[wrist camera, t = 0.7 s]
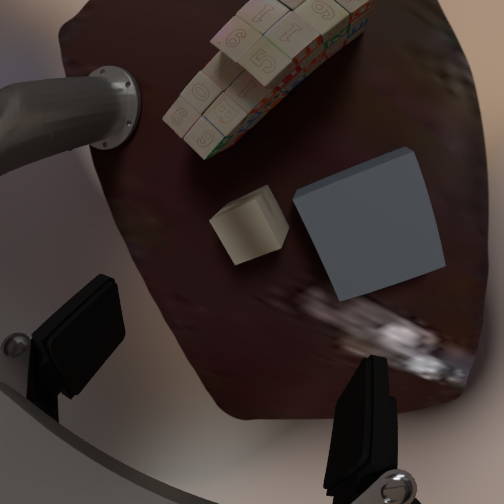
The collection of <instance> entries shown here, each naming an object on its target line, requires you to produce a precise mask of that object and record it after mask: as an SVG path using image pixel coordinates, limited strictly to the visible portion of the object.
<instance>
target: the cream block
mask: <svg viewBox="0 0 504 504" xmlns="http://www.w3.org/2000/svg"><path fill="white" fill-rule="evenodd" d="M209 221H210V223H211V225H212V226H213V228H214V230H215V231H216V233H217V235H218V237H219V238H220V240H221V242H222V243H223V245H224V247H225V249H226V250H227V252H228V254H229V255H230V257H231V259H232V261H233V262H234V264H235V265H237V264H240V263H242V262H245V261H248V260H251V259H253V258H256V257H259V256H262V255H264V254H267V253H270V252H272V251H275V250H278V249H281V248H282V245H283V243H284V240H285V237H286V235H287V232H288V229H289V226H288V224H287V222H286V220H285V218H284V216H283V214H282V212H281V210H280V208H279V206H278V204H277V202H276V200H275V198H274V196H273V194H272V192H271V190H270V188H269V187H268V185H266V186H264V187H261V188H259V189H257V190H255V191H253V192H251V193H248V194H246V195H244V196H242V197H240V198H238V199H236V200H234V201H231V202H229V203H227V204H226V205H225V206H224V207H223V208H222V209H221V210H220V211H219V212H218V213H217V214H215V215H214V216H213V217H212V218H211V219H210V220H209Z"/></svg>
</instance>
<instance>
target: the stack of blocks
mask: <svg viewBox="0 0 504 504" xmlns="http://www.w3.org/2000/svg"><path fill="white" fill-rule="evenodd" d="M374 3H375V0H249V1H248V2H247V3H246V4H245V5H244V6H243V7H242V8H241V9H240V10H239V11H238V12H237V13H236V16H234V17H233V18H231V19H230V21H229V22H228V23H227V24H226V25H225V26H224V27H223V28H222V29H221V30H220V31H219V32H218V33H217V34H216V35H215V36H214V37H213V39H212V40H211V41H210V43H212V44H213V45H214V46H216V47H217V48H218V49H219V50H220V51H219V52H218V53H217V54H216V55H215V56H214V57H213V58H212V59H211V61H210V62H209V63H208V64H207V65H206V66H205V67H204V68H203V69H202V71H200V72H199V73H198V74H197V75H196V76H195V77H194V78H193V79H192V81H191V82H190V83H189V84H188V85H187V86H186V88H185V89H184V90H183V91H182V93H181V94H180V97H179V98H178V99H177V100H176V101H175V103H174V104H173V105H172V106H171V108H170V109H169V110H168V112H167V113H166V114H165V115H164V117H163V118H162V119H163V120H164V121H165V122H166V123H167V124H168V125H169V126H170V127H171V128H172V129H173V130H174V131H175V132H176V133H177V134H178V135H179V136H180V137H181V138H183V139H184V140H185V141H186V142H187V143H188V144H189V145H190V146H191V147H192V148H193V149H194V150H195V151H196V152H197V153H198V154H199V155H200V156H201V157H202V158H203V159H204V160H205V159H208V158H210V157H212V156H214V155H216V154H217V153H218V152H221V151H223V150H225V149H226V148H229V147H231V146H233V145H234V144H235V143H236V142H237V141H238V140H239V139H240V138H241V137H242V136H243V135H244V134H245V133H246V132H247V131H248V130H249V129H251V128H252V127H253V126H254V125H255V124H256V123H257V122H258V121H259V120H260V119H262V118H263V117H264V116H265V115H266V114H267V113H268V112H269V111H270V110H271V109H272V108H273V107H274V106H275V105H277V104H278V103H279V102H280V101H281V100H282V99H283V98H284V97H285V96H286V95H287V94H288V93H289V92H290V91H291V90H292V89H293V88H294V87H295V86H297V85H298V84H299V83H300V82H301V81H302V80H303V79H305V78H306V76H308V75H309V74H310V73H311V72H312V71H314V70H315V69H316V68H317V67H318V66H320V65H321V64H322V63H323V62H324V61H326V60H328V59H329V58H330V57H331V56H333V55H334V54H335V53H336V52H338V51H339V50H340V49H341V48H343V47H344V46H345V45H347V44H348V43H349V42H351V41H352V40H353V39H355V38H356V37H357V36H359V35H360V34H361V33H363V32H364V30H365V27H366V23H367V21H368V18H369V16H370V15H371V13H372V10H373V7H374Z"/></svg>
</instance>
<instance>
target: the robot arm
mask: <svg viewBox="0 0 504 504" xmlns="http://www.w3.org/2000/svg"><path fill="white" fill-rule="evenodd" d="M140 112H141V96H140V91H139V87H138V85H137V83H136V80H135V79H134V77H133V76H132V75H131V74H130V73H129V72H128V71H127V70H125V69H123V68H121V67H117V66H104V67H101V68H99V69H96V70H95V71H93V72H92V73H91V74H90V75H89V76H88V77H67V78H54V79H44V80H35V81H27V82H19V83H14V84H10V85H8V86H5V87H3V88H2V89H0V176H2V175H4V174H6V173H8V172H10V171H13V170H15V169H17V168H20V167H22V166H25V165H28V164H30V163H33V162H36V161H39V160H41V159H44V158H47V157H50V156H53V155H56V154H58V153H62V152H65V151H68V150H69V151H71V150H72V149H74V148H78V147H80V146H84V145H88V144H90V145H91V146H92V147H94V148H97V149H102V150H107V149H112V148H115V147H118V146H120V145H121V144H123V143H124V142H125V141H126V140H128V138H129V137H130V136H131V135H132V133H133V131H134V130H135V128H136V126H137V123H138V120H139V116H140ZM32 337H33V338H32V339H31V340H30V338H29V337H28V336H27V335H26V334H24V333H13V334H11V335H9V336H8V337H6V338H5V339H4V341H3V342H2V344H1V347H0V504H218V503H215V502H212V501H209V500H206V499H203V498H201V497H198V496H195V495H192V494H190V493H187V492H184V491H182V490H179V489H177V488H174V487H172V486H170V485H167V484H165V483H163V482H160V481H158V480H156V479H154V478H152V477H149V476H147V475H145V474H143V473H141V472H139V471H137V470H135V469H133V468H131V467H129V466H127V465H125V464H124V463H122V462H120V461H118V460H116V459H114V458H113V457H111V456H109V455H107V454H106V453H104V452H102V451H100V450H99V449H97V448H96V447H94V446H92V445H91V444H89V443H87V442H86V441H84V440H83V439H81V438H80V437H78V436H77V435H75V434H74V433H72V432H71V431H69V430H68V429H66V428H65V427H64V426H62V425H61V424H59V417H58V394H59V393H60V392H61V393H62V394H63V395H65V396H66V397H68V398H70V399H72V398H73V397H74V395H78V394H79V393H80V392H81V391H82V390H83V388H84V387H85V386H86V384H87V383H88V382H89V381H90V380H91V378H92V377H93V376H94V374H95V373H96V372H97V371H98V370H99V368H100V367H101V366H102V365H103V364H104V362H105V361H106V360H107V359H108V357H109V356H110V355H111V354H112V353H113V351H114V350H115V349H116V348H117V347H118V345H119V344H120V343H121V342H122V341H123V339H124V337H125V327H124V322H123V316H122V311H121V305H120V299H119V293H118V286H117V284H116V283H115V280H114V279H113V278H111V277H108V276H106V275H103V274H99V275H98V276H96V277H95V278H94V279H93V280H92V281H90V282H89V283H88V284H87V285H86V286H85V287H83V288H82V289H81V290H80V291H79V292H78V293H77V294H75V295H74V296H73V297H72V298H71V299H70V300H68V302H66V303H65V304H64V305H63V306H62V307H61V308H59V309H58V310H57V311H56V312H55V313H54V314H53V315H52V316H51V317H50V318H48V319H47V320H46V321H45V322H44V323H43V324H42V325H41V326H40V327H39V328H38V329H37V330H36V331H34V332H33V333H32ZM397 465H398V421H397V402H396V398H395V397H393V396H389V379H388V364H387V359H386V358H385V357H380V356H375V355H370V356H369V357H368V358H363V360H362V361H361V363H360V365H359V367H358V368H357V370H356V372H355V373H354V375H353V377H352V378H351V380H350V382H349V383H348V385H347V386H346V388H345V390H344V391H343V393H342V394H341V396H340V398H339V399H338V401H337V404H336V407H335V414H334V422H333V430H332V437H331V443H330V450H329V456H328V462H327V467H326V473H325V478H324V484H323V487H324V489H327V493H326V495H327V496H334V498H333V503H332V504H421V503H420V502H419V501H418V500H417V499H416V498H415V495H416V492H417V485H416V482H415V479H414V478H413V477H412V475H411V474H410V473H408V472H406V471H404V470H400V469H397Z"/></svg>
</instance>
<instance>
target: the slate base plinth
mask: <svg viewBox="0 0 504 504" xmlns="http://www.w3.org/2000/svg"><path fill="white" fill-rule="evenodd" d="M293 202H294V204H295V206H296V208H297V210H298V212H299V214H300V216H301V218H302V220H303V222H304V224H305V226H306V228H307V230H308V233H309V235H310V237H311V239H312V241H313V243H314V245H315V247H316V250H317V252H318V254H319V256H320V258H321V261H322V263H323V265H324V267H325V269H326V272H327V274H328V276H329V278H330V281H331V283H332V285H333V287H334V290H335V292H336V294H337V296H338V299H339V301H344V300H347V299H350V298H354V297H357V296H360V295H363V294H366V293H370V292H373V291H376V290H379V289H382V288H385V287H388V286H391V285H394V284H397V283H400V282H403V281H406V280H408V279H411V278H414V277H417V276H420V275H423V274H425V273H428V272H431V271H434V270H436V269H439V268H442V267H444V266H445V261H444V256H443V251H442V246H441V242H440V237H439V233H438V229H437V225H436V221H435V217H434V213H433V210H432V206H431V203H430V199H429V196H428V192H427V189H426V186H425V183H424V180H423V177H422V174H421V171H420V168H419V165H418V162H417V159H416V156H415V154H414V151H412V150H410V149H408V148H407V147H403V148H400V149H397V150H395V151H392V152H390V153H387V154H384V155H382V156H379V157H377V158H374V159H371V160H369V161H366V162H364V163H361V164H359V165H356V166H354V167H351V168H349V169H346V170H344V171H341V172H339V173H336V174H334V175H331V176H329V177H327V178H324V179H322V180H319V181H317V182H314V183H312V184H310V185H307V186H305V187H302V188H300V189H298V190H297V191H296V193H295V195H294V198H293Z"/></svg>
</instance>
